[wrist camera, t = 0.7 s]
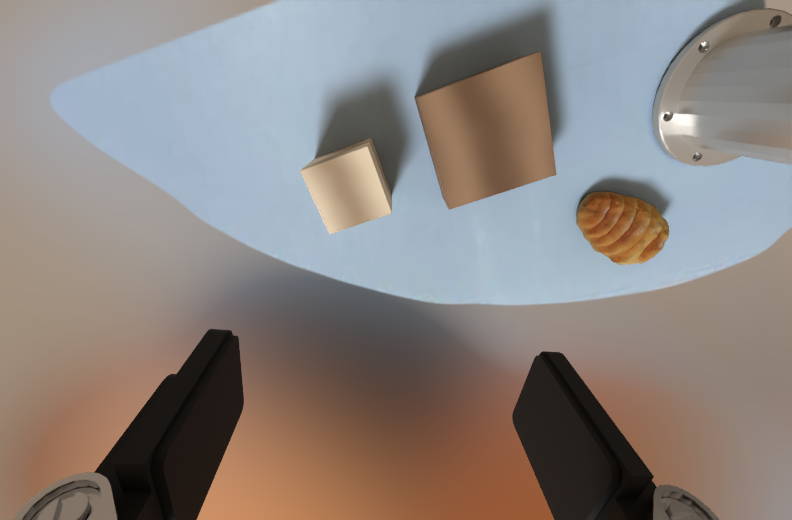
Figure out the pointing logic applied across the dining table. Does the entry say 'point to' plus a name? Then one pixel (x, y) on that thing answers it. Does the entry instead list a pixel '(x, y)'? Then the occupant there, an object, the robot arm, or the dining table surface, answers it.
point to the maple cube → (349, 186)
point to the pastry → (622, 227)
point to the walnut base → (489, 131)
